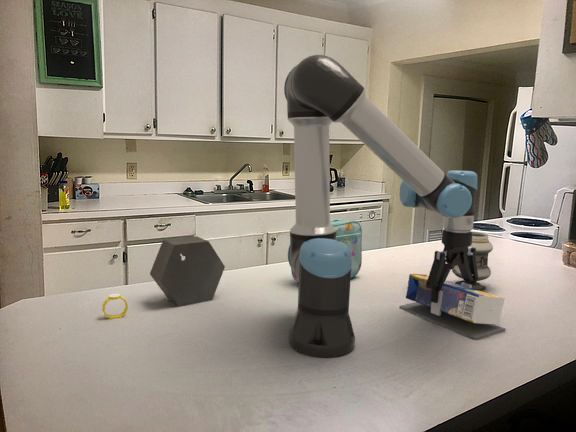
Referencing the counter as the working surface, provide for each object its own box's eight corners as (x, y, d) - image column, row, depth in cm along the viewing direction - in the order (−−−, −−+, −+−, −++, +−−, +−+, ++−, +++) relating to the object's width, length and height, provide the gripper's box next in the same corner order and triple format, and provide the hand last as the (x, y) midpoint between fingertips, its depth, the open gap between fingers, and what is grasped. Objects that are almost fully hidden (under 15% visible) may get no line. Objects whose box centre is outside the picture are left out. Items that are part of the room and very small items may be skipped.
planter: (220, 274, 147) (186, 221, 138) (233, 280, 141) (199, 225, 132) (177, 311, 140) (138, 259, 131) (189, 320, 134) (149, 265, 125)
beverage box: (504, 298, 122) (435, 277, 140) (479, 295, 116) (410, 274, 134) (499, 324, 122) (430, 300, 141) (473, 323, 116) (405, 298, 135)
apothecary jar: (444, 286, 159) (448, 232, 156) (459, 279, 167) (464, 228, 165) (480, 295, 151) (486, 239, 148) (494, 287, 159) (500, 234, 157)
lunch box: (307, 292, 148) (310, 223, 144) (285, 284, 155) (287, 218, 152) (363, 278, 165) (367, 216, 162) (341, 271, 173) (344, 212, 169)
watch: (104, 322, 120) (102, 299, 119) (102, 318, 123) (100, 296, 121) (129, 316, 123) (127, 294, 122) (127, 313, 125) (125, 291, 124)
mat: (475, 340, 116) (475, 337, 116) (399, 307, 137) (399, 305, 137) (505, 330, 123) (505, 328, 122) (428, 301, 143) (428, 299, 143)
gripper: (439, 236, 116) (431, 322, 120) (497, 229, 129) (489, 307, 132) (415, 230, 122) (409, 313, 126) (473, 224, 135) (466, 299, 139)
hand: (450, 310), depth 129 cm, fingers closed on beverage box, 11 cm apart
